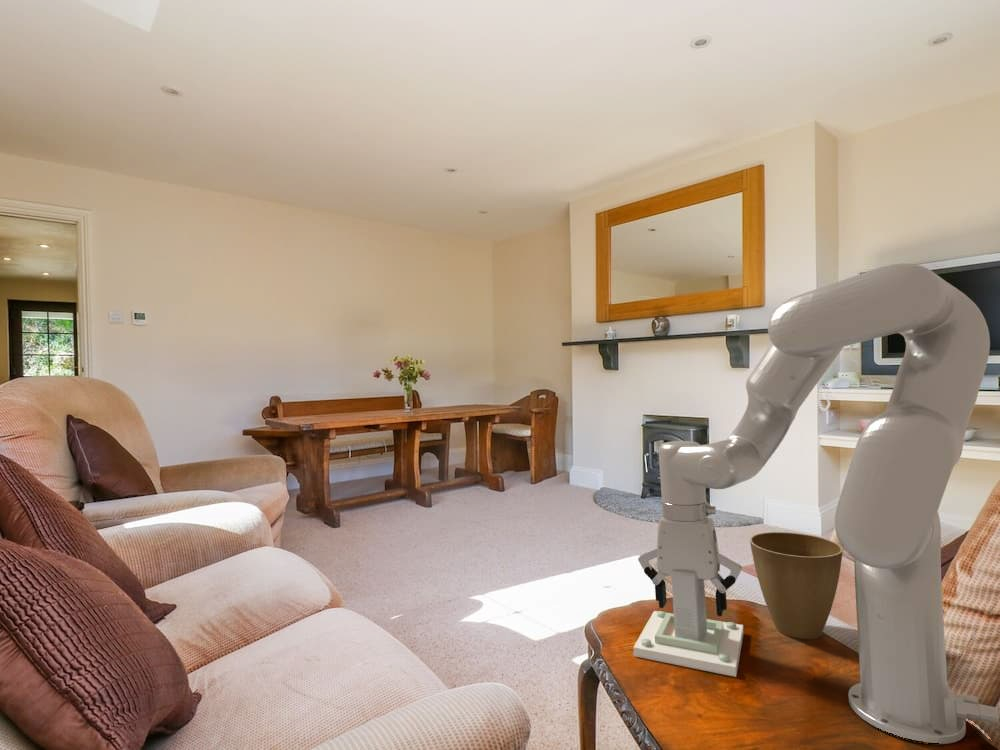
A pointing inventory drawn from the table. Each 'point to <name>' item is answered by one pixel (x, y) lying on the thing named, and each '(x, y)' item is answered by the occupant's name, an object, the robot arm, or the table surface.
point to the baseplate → (691, 645)
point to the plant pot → (797, 580)
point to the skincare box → (689, 606)
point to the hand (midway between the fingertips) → (690, 609)
